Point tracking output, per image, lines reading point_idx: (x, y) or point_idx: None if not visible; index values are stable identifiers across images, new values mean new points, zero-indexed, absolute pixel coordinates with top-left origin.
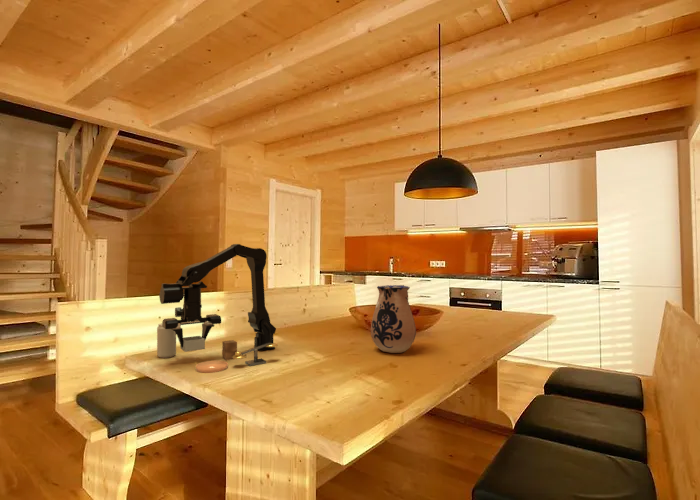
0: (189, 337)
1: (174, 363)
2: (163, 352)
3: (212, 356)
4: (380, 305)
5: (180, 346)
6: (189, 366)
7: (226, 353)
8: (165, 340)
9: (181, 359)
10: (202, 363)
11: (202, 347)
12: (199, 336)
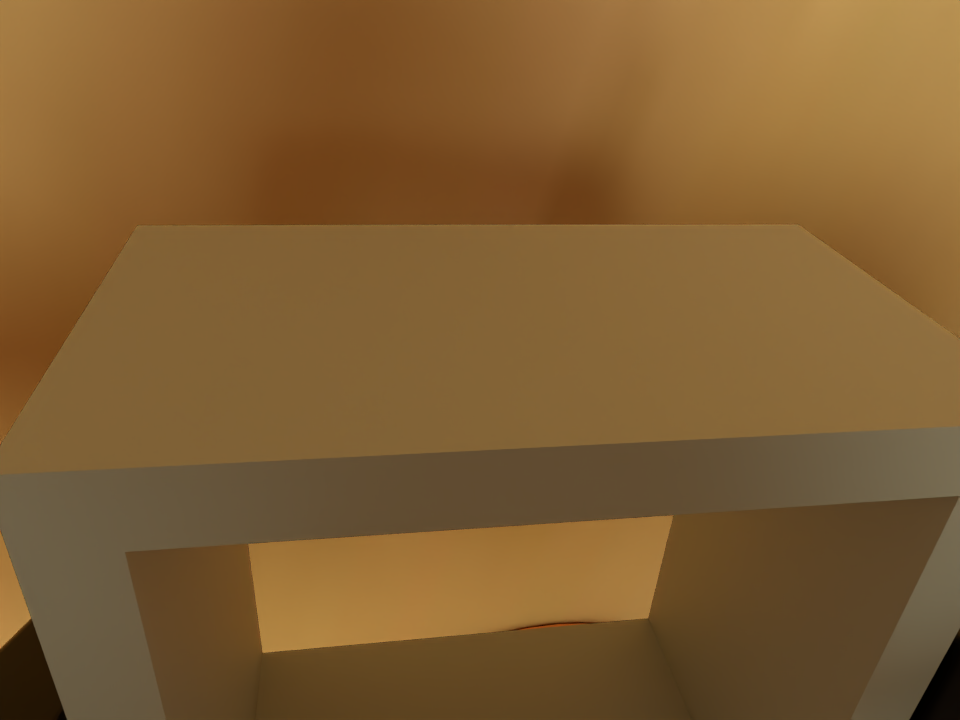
0: (519, 512)
1: (54, 309)
2: None
3: (875, 200)
4: None
5: (123, 261)
6: (301, 597)
7: None
8: None
9: (242, 37)
10: None
11: (645, 685)
12: (938, 577)
